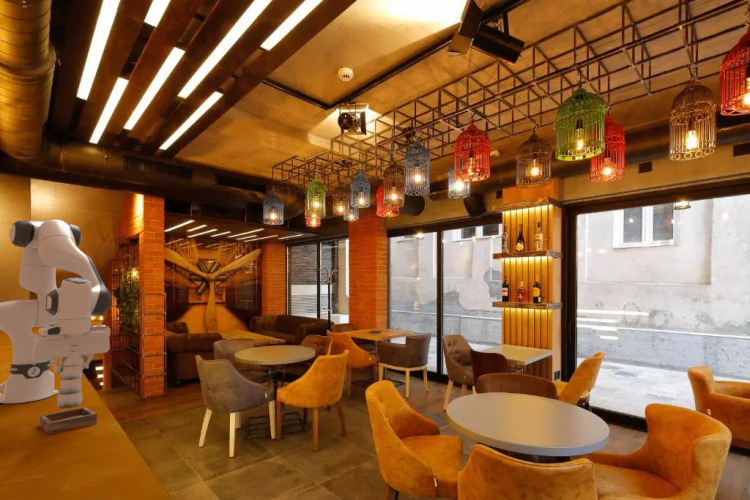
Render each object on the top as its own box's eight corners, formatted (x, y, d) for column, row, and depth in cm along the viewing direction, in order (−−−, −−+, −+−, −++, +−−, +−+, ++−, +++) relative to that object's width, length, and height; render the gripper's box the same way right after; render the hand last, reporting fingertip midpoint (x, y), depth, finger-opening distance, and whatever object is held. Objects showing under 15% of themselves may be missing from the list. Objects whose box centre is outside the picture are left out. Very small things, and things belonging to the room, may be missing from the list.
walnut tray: (39, 425, 124) (40, 416, 124) (84, 415, 133) (85, 406, 133) (48, 434, 116) (49, 424, 117) (96, 423, 126) (96, 413, 126)
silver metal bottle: (68, 411, 122) (73, 347, 123) (50, 409, 123) (55, 346, 124) (87, 405, 128) (91, 343, 129) (69, 403, 129) (74, 342, 131)
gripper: (107, 324, 138) (105, 364, 136) (31, 329, 122) (28, 374, 120) (113, 325, 134) (111, 366, 132) (36, 330, 118) (33, 377, 116)
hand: (71, 370), depth 126 cm, fingers closed on silver metal bottle, 6 cm apart
